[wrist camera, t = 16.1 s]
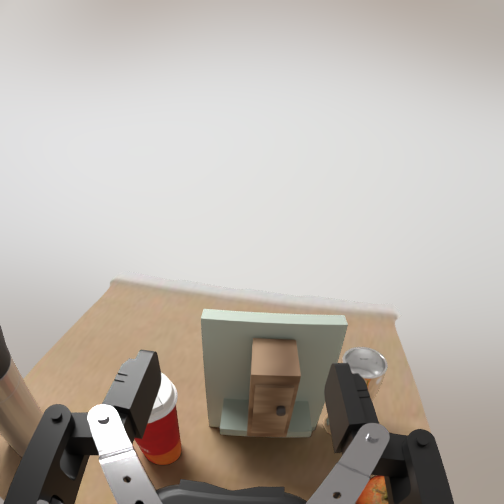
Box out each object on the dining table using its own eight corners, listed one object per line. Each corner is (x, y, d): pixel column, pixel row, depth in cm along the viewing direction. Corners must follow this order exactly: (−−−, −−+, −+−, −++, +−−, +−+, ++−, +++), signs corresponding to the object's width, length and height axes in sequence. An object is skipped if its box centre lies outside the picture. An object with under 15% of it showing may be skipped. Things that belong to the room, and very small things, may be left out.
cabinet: (246, 443, 32) (250, 383, 27) (248, 402, 38) (252, 338, 34) (286, 444, 32) (301, 384, 27) (284, 403, 38) (296, 339, 34)
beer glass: (312, 429, 42) (332, 366, 36) (331, 403, 47) (352, 340, 41) (349, 446, 38) (380, 386, 32) (365, 418, 43) (394, 356, 37)
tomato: (346, 522, 24) (374, 480, 26) (341, 501, 31) (364, 464, 33) (396, 530, 22) (423, 489, 24) (385, 510, 28) (408, 473, 30)
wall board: (204, 453, 37) (191, 349, 28) (212, 403, 46) (207, 296, 38) (318, 457, 37) (359, 355, 28) (311, 407, 46) (339, 302, 38)
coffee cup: (139, 427, 40) (116, 363, 34) (189, 429, 41) (177, 366, 35) (133, 469, 32) (102, 412, 26) (189, 473, 33) (174, 418, 27)
